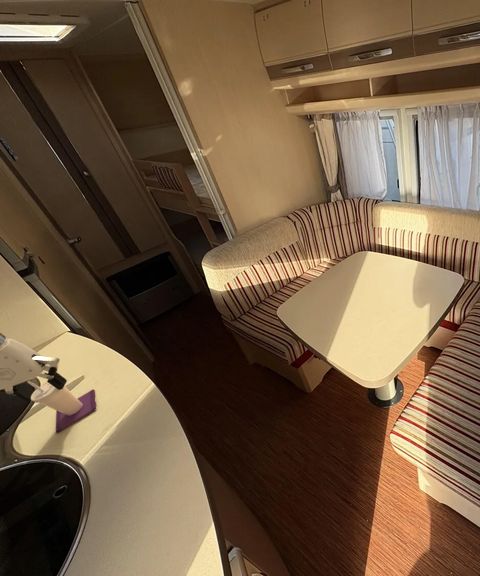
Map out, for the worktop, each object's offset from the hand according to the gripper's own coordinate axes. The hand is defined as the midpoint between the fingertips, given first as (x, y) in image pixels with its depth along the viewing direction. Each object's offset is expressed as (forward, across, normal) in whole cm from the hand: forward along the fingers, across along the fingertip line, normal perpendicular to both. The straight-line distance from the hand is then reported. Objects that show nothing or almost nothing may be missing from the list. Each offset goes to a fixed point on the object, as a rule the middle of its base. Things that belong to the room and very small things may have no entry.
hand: (47, 390), depth 80 cm
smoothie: (+9, 0, 0) cm, 9 cm away
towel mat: (+10, 0, 0) cm, 10 cm away
